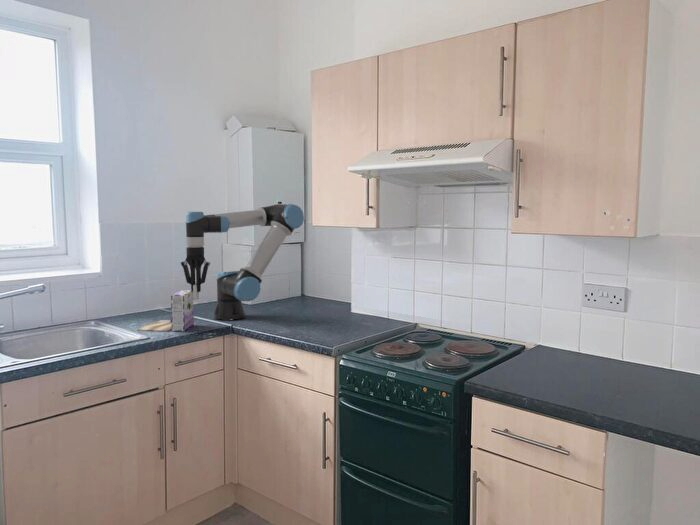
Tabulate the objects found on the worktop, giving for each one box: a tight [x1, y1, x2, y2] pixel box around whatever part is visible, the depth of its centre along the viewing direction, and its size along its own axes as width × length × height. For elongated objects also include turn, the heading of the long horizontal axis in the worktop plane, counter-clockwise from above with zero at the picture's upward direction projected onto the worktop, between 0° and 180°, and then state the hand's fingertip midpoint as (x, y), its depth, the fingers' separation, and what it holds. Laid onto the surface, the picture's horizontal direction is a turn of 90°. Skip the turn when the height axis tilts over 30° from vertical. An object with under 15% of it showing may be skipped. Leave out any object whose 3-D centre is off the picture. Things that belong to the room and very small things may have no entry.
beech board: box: [136, 321, 172, 333], centre depth 252 cm, size 14×16×1 cm
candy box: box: [170, 289, 195, 332], centre depth 250 cm, size 14×6×16 cm, turn 178°
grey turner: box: [157, 319, 172, 323], centre depth 264 cm, size 16×4×1 cm, turn 84°
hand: (196, 299), depth 249 cm, fingers closed
